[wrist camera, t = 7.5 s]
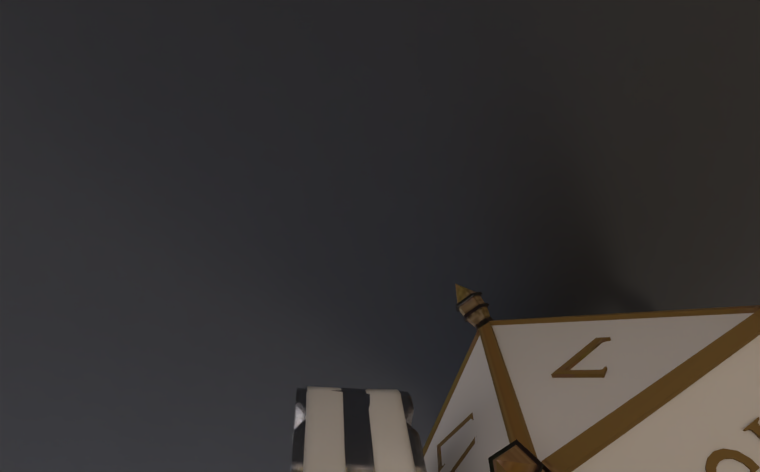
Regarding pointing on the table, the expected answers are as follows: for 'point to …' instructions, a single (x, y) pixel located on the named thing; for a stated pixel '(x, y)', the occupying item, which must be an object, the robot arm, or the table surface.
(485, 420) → the game die
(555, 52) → the mat
